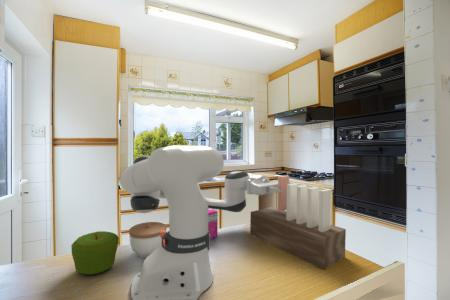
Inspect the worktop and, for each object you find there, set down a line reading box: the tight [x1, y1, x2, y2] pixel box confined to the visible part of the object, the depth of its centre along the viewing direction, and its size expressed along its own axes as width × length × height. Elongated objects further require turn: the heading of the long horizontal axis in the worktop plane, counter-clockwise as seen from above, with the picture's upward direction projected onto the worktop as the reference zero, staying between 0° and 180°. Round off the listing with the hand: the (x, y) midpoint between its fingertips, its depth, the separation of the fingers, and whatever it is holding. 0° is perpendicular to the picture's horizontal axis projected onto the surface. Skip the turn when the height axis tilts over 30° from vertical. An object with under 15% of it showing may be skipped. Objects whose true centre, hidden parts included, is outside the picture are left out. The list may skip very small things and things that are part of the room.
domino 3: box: [296, 184, 309, 224], centre depth 85 cm, size 5×2×14 cm, turn 126°
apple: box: [71, 230, 120, 275], centre depth 69 cm, size 12×12×11 cm
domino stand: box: [249, 206, 347, 271], centre depth 88 cm, size 14×34×10 cm, turn 37°
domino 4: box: [307, 186, 320, 228], centre depth 81 cm, size 5×2×14 cm, turn 126°
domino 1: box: [277, 175, 290, 211], centre depth 92 cm, size 5×2×14 cm, turn 126°
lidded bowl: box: [128, 221, 167, 259], centre depth 80 cm, size 13×13×11 cm
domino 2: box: [285, 183, 299, 221], centre depth 89 cm, size 5×2×14 cm, turn 127°
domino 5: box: [318, 188, 332, 232], centre depth 78 cm, size 5×2×14 cm, turn 126°
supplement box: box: [208, 208, 219, 241], centre depth 95 cm, size 6×6×12 cm
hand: (285, 190), depth 92 cm, fingers closed on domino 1, 5 cm apart
